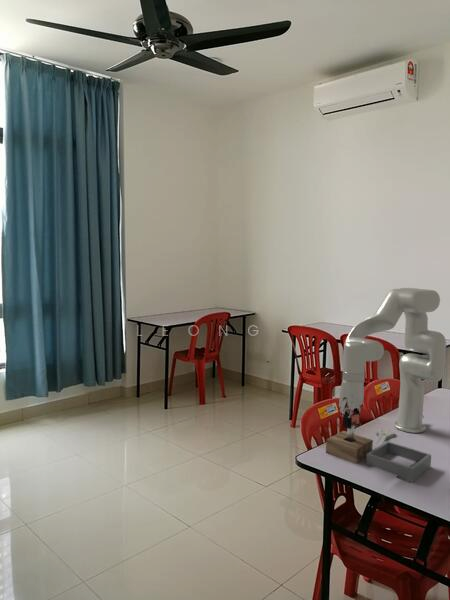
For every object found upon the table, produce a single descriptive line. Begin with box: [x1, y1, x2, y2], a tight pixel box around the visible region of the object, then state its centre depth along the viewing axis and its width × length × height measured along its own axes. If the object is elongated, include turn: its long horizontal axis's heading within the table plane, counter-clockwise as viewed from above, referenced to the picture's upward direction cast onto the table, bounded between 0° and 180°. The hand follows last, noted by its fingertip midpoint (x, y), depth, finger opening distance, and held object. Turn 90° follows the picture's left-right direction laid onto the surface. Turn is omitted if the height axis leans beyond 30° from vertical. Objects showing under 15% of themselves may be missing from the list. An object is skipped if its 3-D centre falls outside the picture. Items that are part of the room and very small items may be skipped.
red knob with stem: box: [346, 411, 360, 443], centre depth 174 cm, size 5×5×11 cm
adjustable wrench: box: [372, 428, 395, 450], centre depth 187 cm, size 25×6×2 cm, turn 147°
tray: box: [365, 440, 432, 484], centre depth 166 cm, size 16×16×4 cm
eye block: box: [325, 430, 374, 464], centre depth 174 cm, size 12×12×6 cm
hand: (351, 424), depth 173 cm, fingers closed on red knob with stem, 5 cm apart
